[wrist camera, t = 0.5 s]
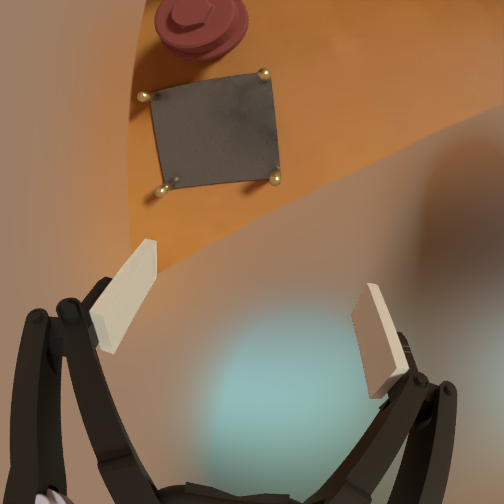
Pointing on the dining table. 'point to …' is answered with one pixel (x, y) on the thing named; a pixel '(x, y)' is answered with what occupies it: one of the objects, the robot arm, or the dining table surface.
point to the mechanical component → (201, 27)
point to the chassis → (216, 131)
